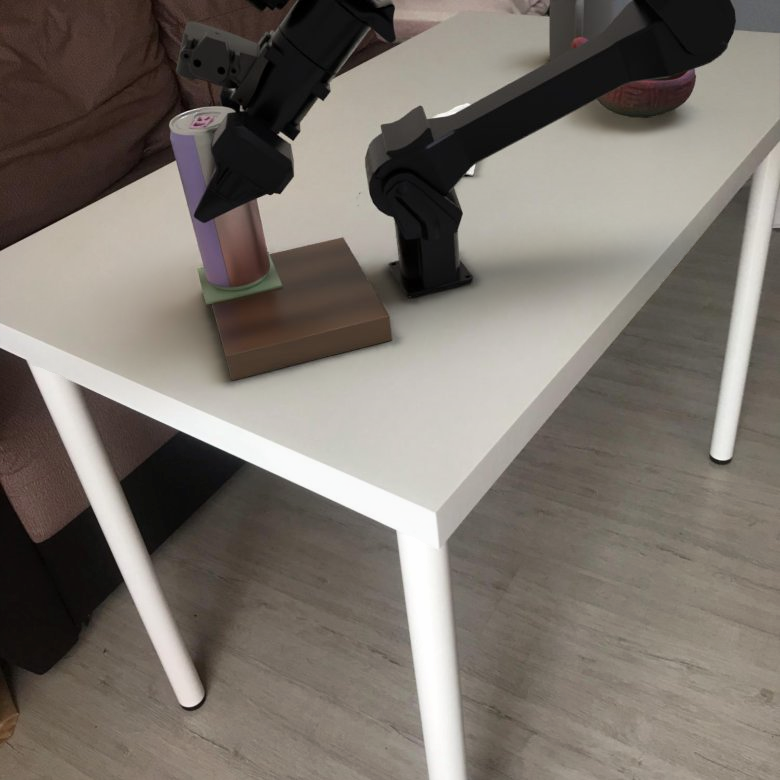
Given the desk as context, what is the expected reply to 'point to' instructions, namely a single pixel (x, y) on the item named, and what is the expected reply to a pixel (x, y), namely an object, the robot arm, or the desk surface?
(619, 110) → the bowl
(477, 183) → the desk surface
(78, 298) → the desk surface
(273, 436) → the desk surface
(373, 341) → the brown wooden board
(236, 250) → the beverage can
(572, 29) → the mug
